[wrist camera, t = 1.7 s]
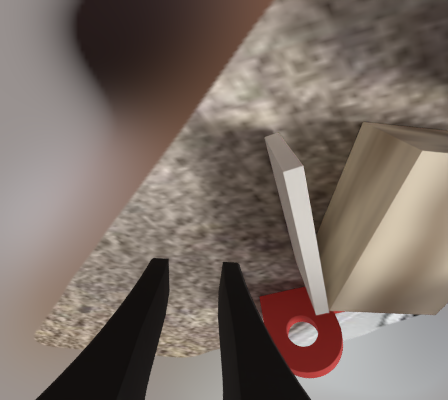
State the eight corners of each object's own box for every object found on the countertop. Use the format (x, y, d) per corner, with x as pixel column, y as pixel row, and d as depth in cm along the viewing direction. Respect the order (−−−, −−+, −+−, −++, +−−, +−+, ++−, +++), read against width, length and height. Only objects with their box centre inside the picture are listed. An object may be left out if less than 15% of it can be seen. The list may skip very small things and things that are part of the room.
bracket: (267, 317, 29) (283, 398, 22) (259, 295, 26) (273, 378, 20) (370, 296, 27) (421, 377, 20) (370, 270, 25) (428, 353, 18)
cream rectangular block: (483, 134, 17) (585, 166, 12) (393, 263, 24) (435, 315, 19) (363, 121, 16) (422, 150, 11) (306, 258, 23) (329, 310, 18)
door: (278, 132, 16) (303, 165, 11) (306, 258, 23) (329, 312, 18) (264, 137, 16) (283, 172, 12) (296, 261, 23) (316, 315, 18)
